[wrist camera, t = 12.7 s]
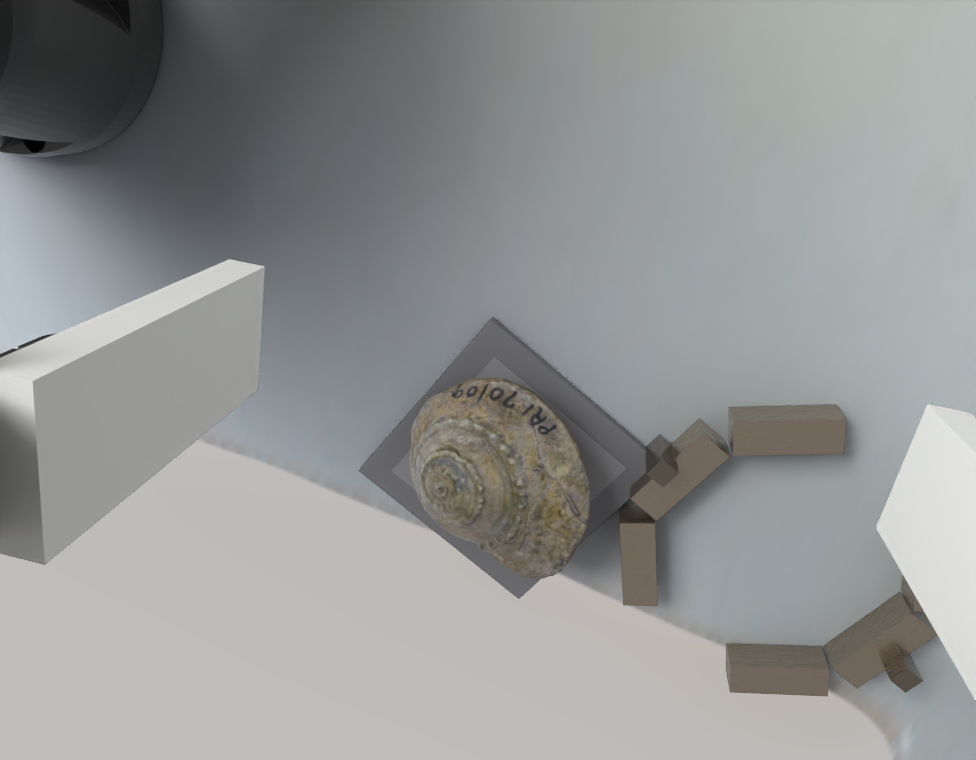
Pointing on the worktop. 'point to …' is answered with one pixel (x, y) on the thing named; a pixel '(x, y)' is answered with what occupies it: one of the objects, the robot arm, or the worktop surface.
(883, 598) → the worktop surface
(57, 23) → the robot arm
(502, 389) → the fossilized seashell
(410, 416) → the mat
